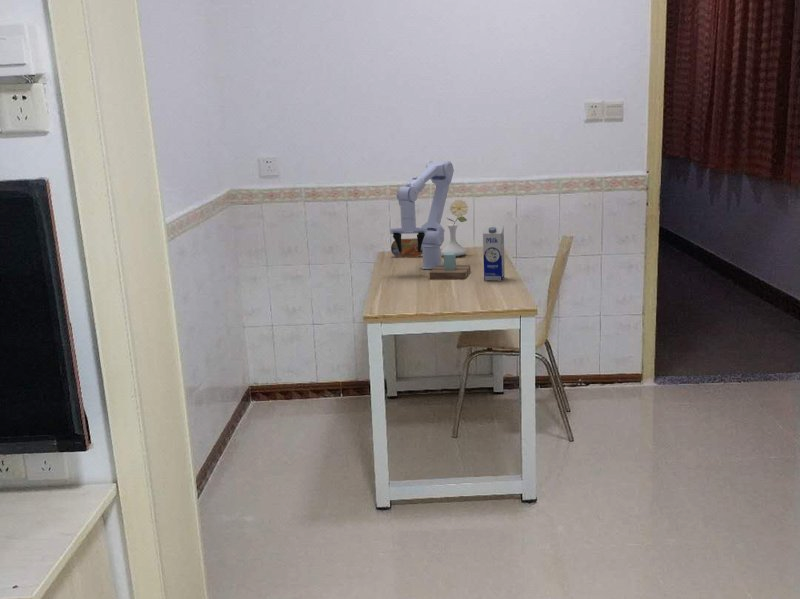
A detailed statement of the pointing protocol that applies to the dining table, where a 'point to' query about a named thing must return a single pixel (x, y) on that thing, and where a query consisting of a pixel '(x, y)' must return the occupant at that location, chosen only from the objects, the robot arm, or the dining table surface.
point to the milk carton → (493, 252)
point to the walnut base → (450, 272)
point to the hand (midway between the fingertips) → (409, 251)
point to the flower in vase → (458, 210)
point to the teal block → (449, 261)
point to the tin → (407, 248)
